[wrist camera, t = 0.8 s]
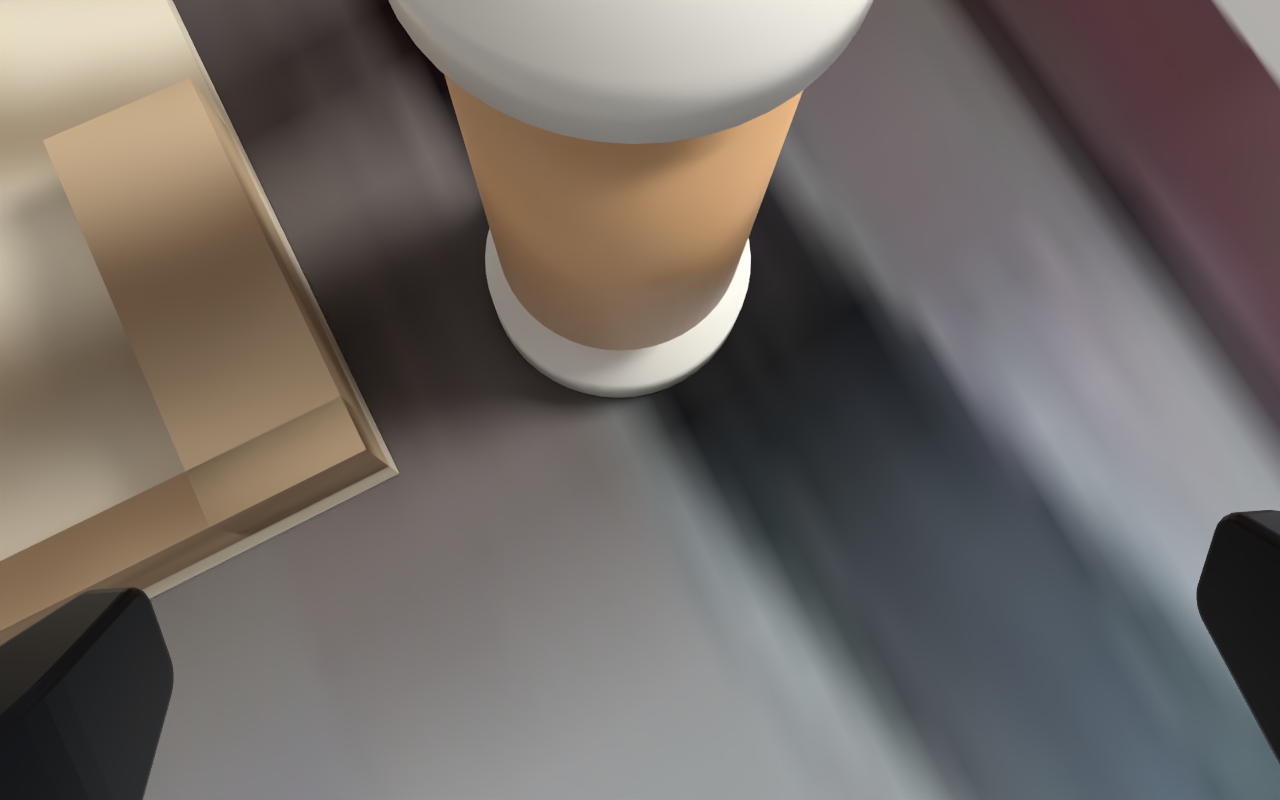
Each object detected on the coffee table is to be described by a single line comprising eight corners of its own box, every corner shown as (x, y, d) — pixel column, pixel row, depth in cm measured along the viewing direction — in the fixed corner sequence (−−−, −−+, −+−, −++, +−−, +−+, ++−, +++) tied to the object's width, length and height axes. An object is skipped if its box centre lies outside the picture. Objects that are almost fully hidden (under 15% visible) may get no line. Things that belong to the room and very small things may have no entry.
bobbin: (643, 449, 21) (695, 199, 9) (439, 296, 22) (215, -142, 9) (791, 254, 23) (1028, -213, 10) (594, 115, 23) (582, -487, 11)
